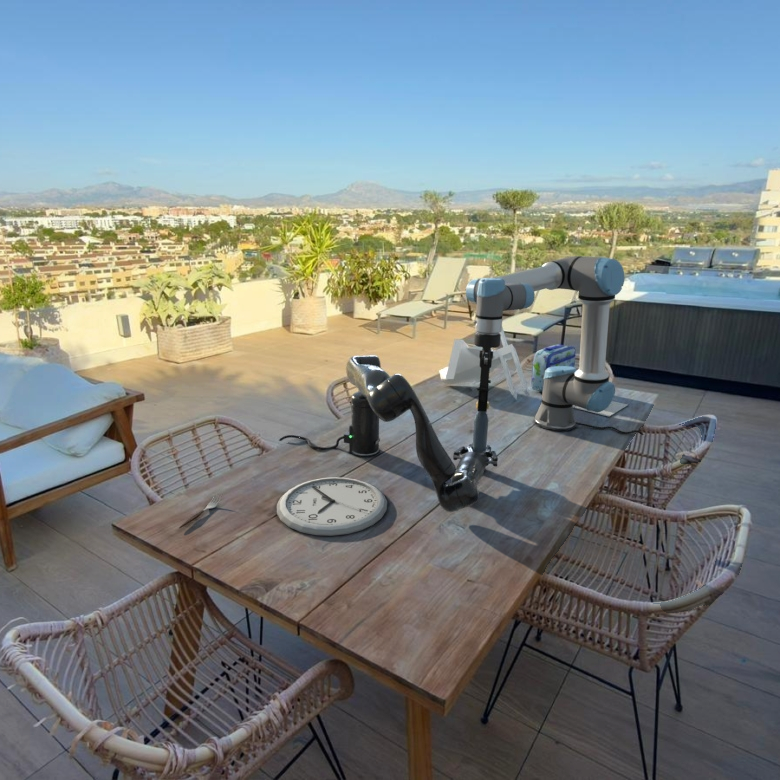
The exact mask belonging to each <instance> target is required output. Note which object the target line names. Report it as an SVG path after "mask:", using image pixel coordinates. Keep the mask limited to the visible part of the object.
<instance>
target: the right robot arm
mask: <svg viewBox="0 0 780 780" xmlns="http://www.w3.org/2000/svg"><path fill="white" fill-rule="evenodd" d="M624 284H625V270H624V268H623V265H622V264H621V262H620V261H619V260H617V259H615V258H609V257H606V256H604V257H603V256H582V255H573V256H568V257H563V258H559V259H555V260H551V261H548V262H545V263H544V264H542V266H539V267H534V268H530V269H526V270H522V271H517V272H513V273H509V274H504V275H500V276H496V277H483V278H474V279H471V280H470V281H469V282H468V283H467V284H466V287H465V297H466V299H467V300H468V301H469V302H470V303H474V304H476V309H475V310H476V312H475V313H476V314H475V317H476V318H475V320H473V324H474V325H475V328H474V330H475V333H474V339H473V341H474V342H473V343H474V346H478V347H482V348H483V349H482V351H480V355H479V358H480V367H481V376H480V382H479V387H478V388H476V391H477V392H478V397H477V398H478V399H477V401H478V409H477V411H484V412H487V413H488V409H487V401H488V402H489V400H488V399H489V390H490V389H489V384H491V383H492V380H491V379H490V373H489V370H490V368H491V365H492V359H493V351H491V348H492V349H496V348H499V347H500V346H501V335H500V332H501V330H502V327H503V315H504V311H505V312H506V311H515V310H519V311H522V310H523V309H525V310H526V309H529V308H530V307H531V306H533V304H534V302H535V296H536V295H535V292H538V291H541V290H550V291H553V290H559V289H560V290H568V291H569V290H570V291H574V292H578V294H577V295H578V296H577V297H578V300H579V301H580V302H581V304H582V309H581V311H582V312H581V327H580V328H581V329H580V343H579V344H580V346H579V362H578V363H579V365H578V368H577V367H575V366H574V367H571V366H555V367H549V368H547V369H546V370H545V375H544V378H543V379H544V381H543V391H541V393H542V394H541V402H540V405H539V407H538V410H537V411H536V413H535V416H534V424H535V425H536V426H537V427H539V428H542V429H544V430H549V431H556V432H567V431H572V430H574V429H575V428H576V425H577V426H581V427H587V428H592V429H595V430H605V429H611V430H613V431H616V432H617V433H619V434H623V435H631V434H634V433H638V434H640V435H641V436H644V433H643V432H642V431H641V430H638V429H634V430H629V431H623V430H620V429H619V428H617V427H614V426H611V425H605V426H597V425H592V424H588V423H583V422H577V421H576V418H575V417H576V416H575V413H574V407H576V406H578V407H581V408H584V409H587V410H588V411H594V412H601V411H603V410H605V409H606V408H607V407H608V406H609V405H610V403H611V402H612V401H614V397H615V394H616V386H615V384H614V383H613V382H612V381H610V373H609V372H608V371H607V370H606V359H607V358H606V357H607V347H608V346H607V345H608V333H609V332H608V331H609V320H610V319H609V318H610V306H611V305H610V304H611V303H612V302H613V301H614V300H615V299H616V296H617V295H618V294H620V293H621V291H622V290H623V287H624ZM573 406H574V407H573ZM588 411H587V412H588Z"/></svg>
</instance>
